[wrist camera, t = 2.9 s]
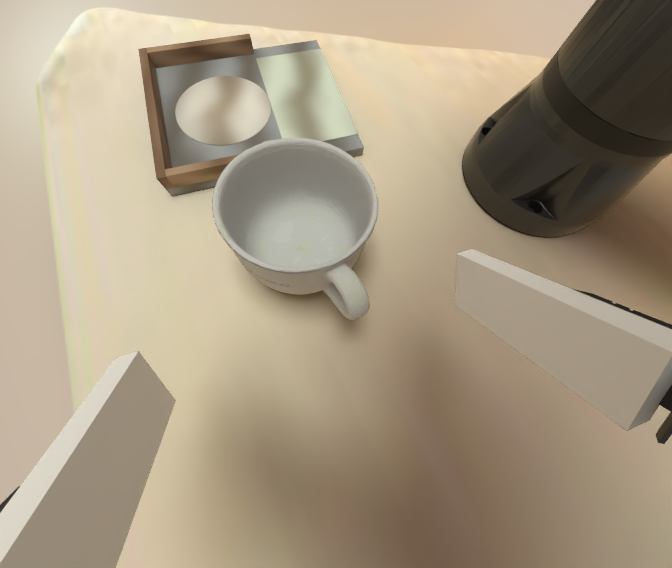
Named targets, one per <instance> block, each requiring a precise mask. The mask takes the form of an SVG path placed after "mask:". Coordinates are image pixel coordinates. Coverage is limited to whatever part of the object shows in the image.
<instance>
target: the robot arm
mask: <svg viewBox="0 0 672 568" xmlns="http://www.w3.org/2000/svg"><path fill="white" fill-rule="evenodd" d="M670 154H672V0H596V1H595V2H594V4H593V5H592V6H591V8H590V9H589V10H588V11H587V13H586V14H585V15H584V17H583V18H582V19H581V21H580V22H579V23H578V25H577V26H576V27H575V29H574V30H573V31H572V32H571V34H570V35H569V36H568V38H567V39H566V41H565V42H564V43H563V44H562V46H561V47H560V49H559V50H558V51H557V53H556V54H555V55H554V57H553V58H552V59H551V60H550V62H549V63H548V64H547V66H546V67H545V68H544V69H543V71H542V72H541V73H540V74H539V75H538V76H537V77H536V78H535V79H534V80H532V81H531V82H530V83H529V84H528V85H527V86H525V87H524V88H523V89H522V90H521V91H519V92H518V93H517V94H516V95H515V96H514V97H512V98H511V99H510V100H509V101H508V102H506V103H505V104H504V105H503V106H502V107H501V108H499V109H498V110H497V111H496V112H495V113H493V114H492V115H491V116H490V117H489V118H488V119H487V120H486V121H485V122H484V123H483V124H482V125H481V126H480V127H479V129H478V130H477V132H476V133H475V135H474V136H473V138H472V139H471V141H470V142H469V144H468V146H467V147H466V150H465V153H464V157H463V172H464V177H465V180H466V183H467V185H468V188H469V189H470V191H471V193H472V195H473V196H474V198H475V199H476V200H477V202H478V203H479V204H480V205H481V206H482V207H483V208H484V209H485V210H486V211H487V212H488V213H489V214H490V215H491V216H493V217H494V218H495V219H497V220H498V221H500V222H501V223H503V224H505V225H507V226H509V227H510V228H513V229H515V230H517V231H520V232H523V233H526V234H530V235H535V236H541V237H558V236H564V235H568V234H571V233H574V232H576V231H578V230H580V229H582V228H584V227H586V226H588V225H589V224H591V223H593V222H595V221H597V220H599V219H600V218H601V217H603V216H604V215H606V214H607V213H608V212H609V211H610V210H611V209H612V208H613V207H614V206H615V205H616V204H617V203H619V202H620V201H621V200H622V199H623V198H624V197H625V196H626V195H627V194H628V193H629V192H630V191H631V190H632V189H633V188H634V187H635V186H636V185H637V184H638V183H639V182H640V181H641V180H642V179H643V178H644V177H645V176H646V175H647V174H648V173H649V172H650V171H651V170H652V169H653V168H654V167H655V166H656V165H657V164H658V163H660V162H661V161H662V160H663V159H664V158H666V157H667V156H669V155H670ZM455 306H456V307H458V308H459V309H461V310H462V311H463V312H465V313H466V314H467V315H469V316H470V317H471V318H473V319H474V320H476V321H477V322H478V323H480V324H481V325H482V326H484V327H485V328H487V329H488V330H489V331H491V332H492V333H493V334H495V335H496V336H497V337H499V338H500V339H502V340H503V341H504V342H506V343H507V344H508V345H510V346H511V347H513V348H514V349H515V350H517V351H518V352H519V353H521V354H522V355H523V356H525V357H526V358H528V359H529V360H530V361H532V362H533V363H534V364H536V365H537V366H539V367H540V368H541V369H543V370H544V371H545V372H547V373H548V374H549V375H551V376H552V377H554V378H555V379H556V380H558V381H559V382H560V383H562V384H563V385H565V386H566V387H567V388H569V389H570V390H571V391H573V392H574V393H575V394H577V395H578V396H580V397H581V398H582V399H584V400H585V401H586V402H588V403H589V404H590V405H592V406H593V407H595V408H596V409H597V410H599V411H600V412H601V413H603V414H604V415H606V416H607V417H608V418H610V419H611V420H612V421H614V422H615V423H616V424H618V425H619V426H621V427H622V428H623V429H625V430H626V431H628V430H630V429H632V428H634V427H636V426H638V425H640V424H642V423H645V422H647V421H649V420H650V418H651V417H652V415H653V414H654V412H655V411H656V409H657V408H658V406H659V405H661V406H663V407H664V408H666V409H668V410H669V411H671V413H670V414H669V415H668V417H667V418H666V420H665V421H664V423H663V424H662V425H661V427H660V428H659V430H658V432H657V433H656V437H657V441H658V443H662V444H665V442H666V441H667V440H668V438H669V437H670V436H671V434H672V325H670V324H668V323H665V322H663V321H660V320H658V319H655V318H653V317H650V316H648V315H645V314H642V313H640V312H637V311H635V310H633V311H631V310H630V308H627V307H625V306H622V305H620V304H617V303H616V304H613V303H612V301H609V300H607V299H604V298H602V297H599V296H597V295H594V294H591V293H587V292H583V291H578V290H574V289H570V288H568V287H565V286H563V285H561V284H558V283H556V282H553V281H551V280H548V279H546V278H543V277H541V276H538V275H536V274H533V273H531V272H528V271H526V270H523V269H521V268H518V267H516V266H513V265H511V264H508V263H506V262H504V261H501V260H499V259H496V258H494V257H491V256H489V255H486V254H484V253H481V252H479V251H476V250H474V249H470V250H466V251H463V252H460V253H457V262H456V287H455ZM175 401H176V400H175V399H174V397H173V396H172V395H171V393H170V392H169V391H168V389H167V388H166V387H165V385H164V384H163V383H162V382H161V380H160V379H159V378H158V376H157V375H156V374H155V372H154V371H153V370H152V368H151V367H150V366H149V364H148V363H147V362H146V360H145V359H144V358H143V356H142V355H141V354H140V352H139V351H137V352H134V353H131V354H128V355H124V356H121V357H118V358H115V360H114V361H113V362H112V364H111V365H110V367H109V368H108V369H107V371H106V372H105V373H104V375H103V376H102V377H101V379H100V380H99V381H98V383H97V384H96V385H95V387H94V388H93V389H92V391H91V392H90V393H89V395H88V396H87V397H86V399H85V400H84V401H83V403H82V404H81V405H80V407H79V408H78V409H77V411H76V412H75V413H74V415H73V416H72V417H71V419H70V420H69V422H68V423H67V424H66V426H65V427H64V428H63V430H62V431H61V432H60V434H59V435H58V436H57V438H56V439H55V440H54V442H53V443H52V444H51V446H50V447H49V448H48V450H47V451H46V452H45V454H44V455H43V456H42V458H41V459H40V460H39V462H38V463H37V464H36V466H35V467H34V469H33V470H32V471H31V473H30V474H29V475H28V477H27V478H26V479H25V481H24V482H23V483H22V485H21V486H19V487H18V488H17V489H16V490H15V491H14V492H13V493H12V494H11V495H10V496H9V497H8V498H7V499H6V500H5V501H4V502H3V503H2V504H1V505H0V568H116V565H117V562H118V560H119V557H120V554H121V551H122V549H123V546H124V543H125V540H126V537H127V535H128V532H129V529H130V526H131V523H132V521H133V518H134V515H135V512H136V510H137V507H138V504H139V501H140V498H141V496H142V493H143V490H144V487H145V485H146V482H147V479H148V476H149V473H150V471H151V468H152V465H153V462H154V459H155V457H156V454H157V451H158V448H159V446H160V443H161V440H162V437H163V434H164V432H165V429H166V426H167V423H168V421H169V418H170V415H171V412H172V409H173V407H174V404H175Z"/></svg>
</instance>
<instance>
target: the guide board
mask: <svg viewBox="0 0 672 568" xmlns="http://www.w3.org/2000/svg"><path fill="white" fill-rule="evenodd" d="M139 56H140V63H141V70H142V77H143V84H144V92H145V99H146V106H147V113H148V120H149V128H150V135H151V142H152V149H153V156H154V164H155V171H156V178H157V179H158V181H159V182H160V183H161V184H162V185H163V186H164V187H165V188H166V190H167V191H168V192H169V193H170V194H171V195H172V196H176V195H180V194H185V193H190V192H194V191H199V190H203V189H208V188H212V187H215V186H216V183H217V181H218V179H219V177H220V175H221V173H222V172H223V170H224V169H225V168H226V167H227V165H228V164H229V163H230V162H231V161H232V160H233V159H234V158H235V157H237V156H238V155H240V154H241V153H243V152H244V151H245V150H247V149H250V148H252V147H254V146H256V145H258V144H261V143H263V142H264V141H269V140H277V139H282V138H307V139H313V140H318V141H322V142H325V143H328V144H331V145H333V146H336V147H338V148H340V149H341V150H343V151H345V152H346V153H348V154H349V155H351V156H352V157H354V156H359V155H362V154H363V148H364V147H363V145H362V142H361V140H360V138H359V136H358V132H357V130H356V128H355V125H354V123H353V121H352V119H351V116H350V114H349V112H348V110H347V107H346V105H345V103H344V101H343V98H342V96H341V94H340V92H339V89H338V87H337V85H336V82H335V80H334V78H333V76H332V73H331V71H330V69H329V67H328V64H327V62H326V60H325V58H324V55H323V53H322V51H321V49H320V47H319V45H318V43H317V40H314V41H307V42H301V43H294V44H287V45H280V46H273V47H266V48H259V49H253V46H252V42H251V38H250V35H249V34H245V35H238V36H231V37H223V38H216V39H209V40H201V41H194V42H187V43H179V44H172V45H165V46H157V47H150V48H143V49H139Z"/></svg>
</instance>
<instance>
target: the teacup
mask: <svg viewBox="0 0 672 568" xmlns="http://www.w3.org/2000/svg"><path fill="white" fill-rule="evenodd" d="M212 204H213V205H212V210H213V217H214V219H215V224H216V226H217V228H218V231H219V233H220V234H221V236H222V237H223V239H224V240H225V242H226V243H227V244H228V245H229V247H230V248H232V249H233V251H234V252H235V254H236V255H237V257H238V258H239V260H240V261H241V262H242V264H243V265H244V266H245V268H246V269H247V270H248V271H249V272H250V273H251V274H252V275H253V276H254V277H255V278H256V279H257V280H259V281H260V282H261V283H263V284H265V285H266V286H268V287H270V288H272V289H274V290H277V291H280V292H284V293H288V294H298V295H301V294H311V293H315V292H319V291H324V292H325V293H326V294H327V295H328V296H329V298H330V299H331V300H332V302H333V303H334V304H335V306H336V307H337V308H338V310H339V311H340V312H341V313H342V314H343V316H344V317H346V318H347V319H349V320H356V319H358V318H360V317H362V316H363V315H364V314H366V313H367V311H368V309H369V306H370V304H369V297H368V294H367V292H366V289H365V287H364V285H363V284H362V282H361V280H360V279H359V277H358V276H357V275H356V273H355V272H354V271H353V270H352V267H353V266H354V265H355V263H356V261H357V260H358V258H359V256H360V254H361V252H362V250H363V247H364V245H365V243H366V241H367V239H368V238H369V236H370V235H371V233H372V231H373V229H374V226H375V223H376V220H377V215H378V197H377V194H376V190H375V187H374V183H373V181H372V179H371V178H370V176H369V174H368V173H367V171H366V170H365V169H364V167H363V166H362V165H361V164H360V163H359V162H358V161H357V160H356V159H354V158H353V157H352V156H351V155H349V154H348V153H346V152H345V151H343V150H341V149H340V148H338V147H336V146H333V145H331V144H328V143H325V142H322V141H318V140H313V139H307V138H282V139H277V140H269V141H264V142H263V143H261V144H258V145H256V146H254V147H252V148H250V149H247V150H245V151H244V152H243V153H241V154H240V155H238V156H237V157H235V158H234V159H233V160H232V161H231V162H230V163H229V164H228V165H227V167H226V168H225V169H224V170H223V172H222V173H221V175H220V177H219V179H218V181H217V183H216V186H215V189H214V193H213V200H212Z"/></svg>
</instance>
